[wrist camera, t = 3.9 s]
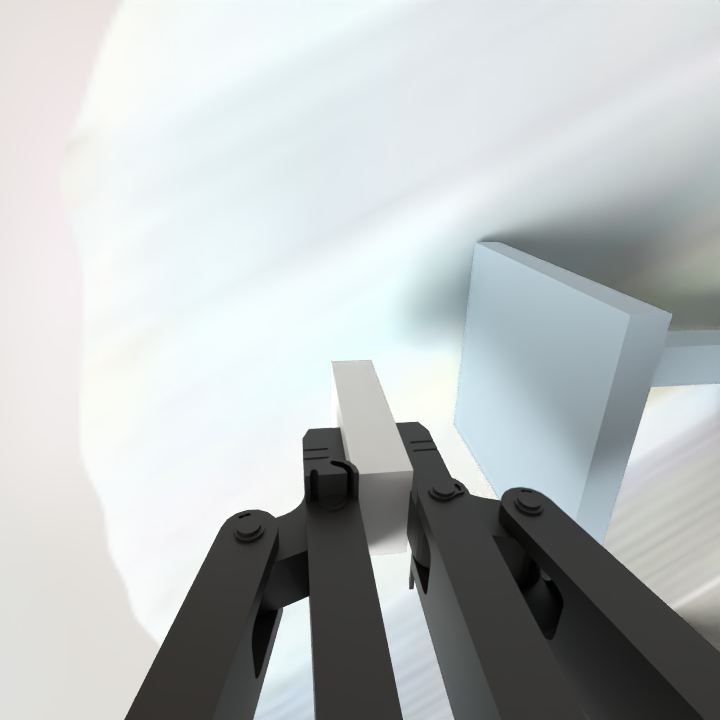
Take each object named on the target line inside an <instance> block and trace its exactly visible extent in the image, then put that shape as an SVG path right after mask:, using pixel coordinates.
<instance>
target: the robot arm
mask: <svg viewBox="0 0 720 720" xmlns="http://www.w3.org/2000/svg"><path fill="white" fill-rule="evenodd" d="M331 425H332V428H320V429H309V430H308V431H307V433H306V434H305V436H304V437H303V466H304V490H305V495H304V499H303V501H302V503H301V504H300V505H299V506H298V507H297V508H296V509H294V510H293V511H291V512H290V513H287V514H285V515H283V516H280V517H277V518H275V517H274V516H272V515H271V514H269V513H268V512H265V511H261V510H246V511H243V512H240V513H237V514H235V515H233V516H232V517H230V518H229V519H227V520H226V522H225V523H224V524H223V526H222V527H221V528H220V530H219V532H218V534H217V536H216V538H215V540H214V542H213V544H212V546H211V548H210V550H209V552H208V554H207V556H206V558H205V560H204V562H203V564H202V566H201V568H200V570H199V572H198V574H197V576H196V578H195V580H194V582H193V584H192V586H191V588H190V590H189V592H188V594H187V596H186V598H185V600H184V602H183V604H182V606H181V608H180V610H179V612H178V614H177V616H176V618H175V620H174V622H173V624H172V626H171V628H170V630H169V632H168V634H167V636H166V638H165V640H164V642H163V644H162V646H161V648H160V650H159V652H158V654H157V656H156V658H155V660H154V662H153V664H152V666H151V668H150V670H149V672H148V674H147V676H146V678H145V680H144V682H143V684H142V686H141V688H140V690H139V692H138V694H137V696H136V698H135V700H134V702H133V704H132V706H131V708H130V710H129V712H128V714H127V715H126V718H125V719H124V720H253V718H254V714H255V711H256V707H257V703H258V700H259V696H260V693H261V689H262V685H263V682H264V678H265V675H266V671H267V667H268V664H269V660H270V656H271V653H272V649H273V646H274V642H275V638H276V635H277V631H278V628H279V624H280V620H281V617H282V613H283V607H285V606H287V605H289V604H292V603H294V602H296V601H299V600H301V599H303V598H306V597H308V596H309V605H310V627H311V648H312V670H313V691H314V712H315V720H403V718H402V713H401V708H400V703H399V698H398V693H397V688H396V683H395V678H394V673H393V668H392V663H391V658H390V653H389V648H388V643H387V638H386V633H385V628H384V623H383V618H382V613H381V608H380V603H379V598H378V593H377V588H376V583H375V578H374V573H373V568H372V563H371V558H370V555H381V554H391V553H401V552H407V540H409V543H410V546H411V550H412V555H411V566H410V577H409V589H414V580H415V583H416V587H417V590H418V594H419V597H420V601H421V604H422V608H423V611H424V615H425V618H426V622H427V625H428V629H429V632H430V636H431V639H432V643H433V646H434V650H435V653H436V657H437V660H438V664H439V667H440V671H441V674H442V678H443V681H444V685H445V688H446V692H447V695H448V699H449V702H450V706H451V709H452V713H453V716H454V720H720V652H719V651H718V650H716V649H715V648H714V647H713V646H712V645H711V644H710V643H709V642H708V641H706V640H705V639H704V638H703V637H702V636H701V635H700V634H699V633H698V632H697V631H695V630H694V629H693V628H692V627H691V626H690V625H689V624H688V623H687V622H685V621H684V620H683V619H682V618H681V617H680V616H679V615H678V614H677V613H676V612H674V611H673V610H672V609H671V608H670V607H669V606H668V605H667V604H666V603H665V602H663V601H662V600H661V599H660V598H659V597H658V596H657V595H656V594H655V593H653V592H652V591H651V590H650V589H649V588H648V587H647V586H646V585H645V584H644V583H642V582H641V581H640V580H639V579H638V578H637V577H636V576H635V575H634V574H633V573H631V572H630V571H629V570H628V569H627V568H626V567H625V566H624V565H623V564H621V563H620V562H619V561H618V560H617V559H616V558H615V557H614V556H613V555H612V554H610V553H609V552H608V551H607V550H606V549H605V548H604V547H603V546H602V545H600V544H599V543H598V542H597V541H596V540H595V539H594V538H593V537H592V536H591V535H589V534H588V533H587V532H586V531H585V530H584V529H583V528H582V527H581V526H580V525H578V524H577V523H576V522H575V521H574V520H573V519H572V518H571V517H570V516H568V515H567V514H566V513H565V512H564V511H563V510H562V509H561V508H560V507H559V506H557V505H556V504H555V503H554V502H553V501H552V500H551V499H550V498H548V497H547V496H545V495H544V494H542V493H541V492H539V491H536V490H533V489H531V488H524V487H516V488H510V489H509V490H507V491H505V492H504V493H503V495H502V497H501V500H494V499H488V498H482V497H478V496H474V495H471V494H470V493H469V491H468V489H467V488H466V487H465V486H464V485H463V484H462V483H461V482H459V481H458V480H456V479H454V478H452V477H451V475H450V473H449V471H448V469H447V467H446V465H445V463H444V461H443V459H442V457H441V455H440V453H439V451H438V450H437V447H436V445H435V443H434V442H433V439H432V437H431V435H430V433H429V431H428V430H427V429H426V428H425V427H424V426H422V425H421V424H420V423H419V422H405V423H395V421H394V418H393V416H392V413H391V411H390V408H389V405H388V403H387V400H386V398H385V395H384V392H383V390H382V387H381V385H380V382H379V379H378V377H377V374H376V372H375V369H374V366H373V364H372V361H371V360H360V361H334V362H331Z"/></svg>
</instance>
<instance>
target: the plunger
mask: <svg viewBox="0 0 720 720" xmlns="http://www.w3.org/2000/svg"><path fill="white" fill-rule="evenodd" d="M672 316H673V314H672V313H669V312H667V311H664V310H662V309H660V308H657V307H655V306H652V305H650V304H648V303H645V302H643V301H640V300H638V299H635V298H633V297H631V296H628V295H626V294H623V293H621V292H619V291H616V290H614V289H611V288H609V287H607V286H604V285H602V284H599V283H597V282H595V281H592V280H590V279H587V278H585V277H583V276H580V275H578V274H575V273H573V272H570V271H568V270H566V269H563V268H561V267H558V266H556V265H554V264H551V263H549V262H546V261H544V260H542V259H539V258H537V257H534V256H532V255H530V254H527V253H525V252H522V251H520V250H518V249H515V248H513V247H510V246H508V245H505V244H503V243H501V242H475V246H474V254H473V263H472V271H471V280H470V288H469V297H468V305H467V314H466V322H465V331H464V339H463V348H462V356H461V365H460V373H459V382H458V390H457V399H456V407H455V416H454V426H455V428H456V429H457V431H458V433H459V434H460V436H461V438H462V439H463V441H464V443H465V444H466V446H467V448H468V449H469V451H470V453H471V454H472V456H473V458H474V459H475V461H476V463H477V464H478V466H479V468H480V469H481V471H482V473H483V474H484V476H485V478H486V479H487V481H488V483H489V484H490V486H491V488H492V489H493V491H494V493H495V494H496V496H497V498H498V499H499V500H501V497H502V495H503V493H504V492H505V491H507V490H509V489H510V488H516V487H524V488H531V489H533V490H536V491H539V492H541V493H542V494H544V495H545V496H547V497H548V498H550V499H551V500H552V501H553V502H554V503H555V504H556V505H557V506H559V507H560V508H561V509H562V510H563V511H564V512H565V513H566V514H567V515H568V516H570V517H571V518H572V519H573V520H574V521H575V522H576V523H577V524H578V525H580V526H581V527H582V528H583V529H584V530H585V531H586V532H587V533H588V534H589V535H591V536H592V537H593V538H594V539H595V540H596V541H597V542H598V543H599V544H600V545H602V544H603V541H604V538H605V535H606V531H607V528H608V525H609V522H610V518H611V515H612V512H613V508H614V505H615V502H616V499H617V495H618V492H619V489H620V486H621V482H622V479H623V476H624V473H625V469H626V466H627V463H628V459H629V456H630V453H631V450H632V446H633V443H634V440H635V437H636V433H637V430H638V427H639V424H640V420H641V417H642V414H643V410H644V407H645V404H646V401H647V397H648V394H649V391H650V388H651V387H659V386H679V385H700V384H720V329H705V330H674V331H668V329H669V326H670V322H671V319H672Z"/></svg>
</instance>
